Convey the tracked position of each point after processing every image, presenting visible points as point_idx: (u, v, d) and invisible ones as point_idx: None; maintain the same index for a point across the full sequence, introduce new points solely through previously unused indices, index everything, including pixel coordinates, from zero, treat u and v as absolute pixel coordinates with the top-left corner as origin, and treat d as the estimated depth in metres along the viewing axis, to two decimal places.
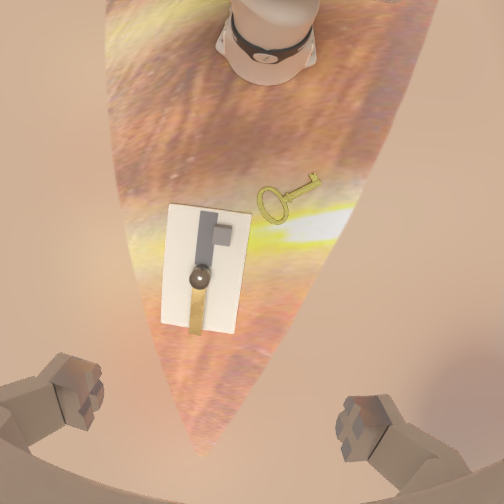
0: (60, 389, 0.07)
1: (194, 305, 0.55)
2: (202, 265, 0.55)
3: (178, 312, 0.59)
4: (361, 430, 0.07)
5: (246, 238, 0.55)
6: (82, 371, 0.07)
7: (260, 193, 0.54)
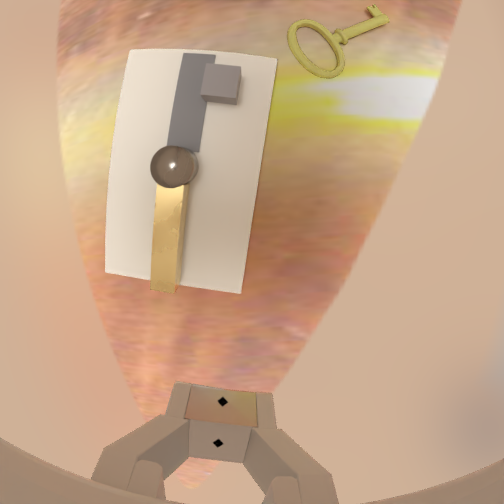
0: (197, 424, 0.07)
1: (160, 226, 0.26)
2: None
3: (135, 250, 0.30)
4: (220, 426, 0.07)
5: (268, 98, 0.26)
6: (214, 399, 0.08)
7: (292, 28, 0.24)
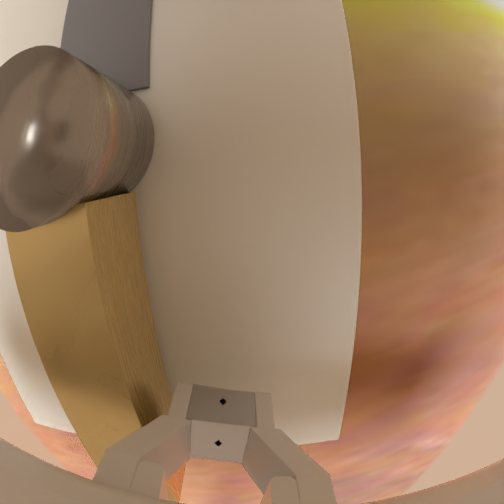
0: (199, 424, 0.07)
1: (62, 370, 0.06)
2: None
3: None
4: (218, 426, 0.07)
5: None
6: (216, 400, 0.08)
7: None
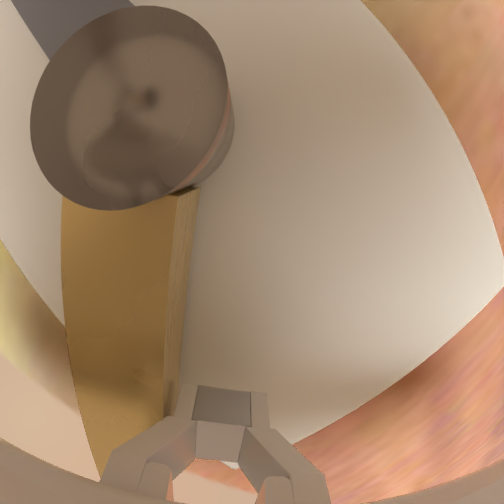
0: (205, 425, 0.07)
1: (91, 357, 0.06)
2: None
3: None
4: (213, 426, 0.07)
5: None
6: (221, 400, 0.08)
7: None
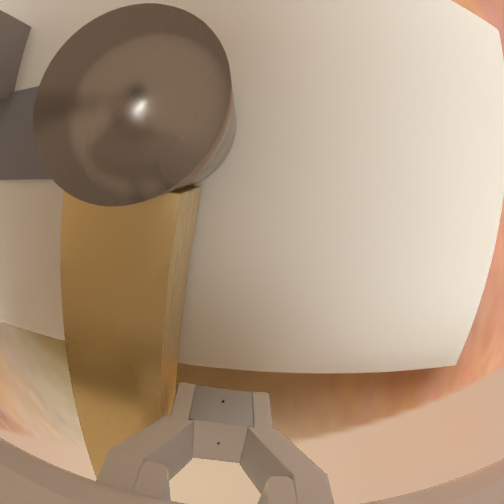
0: (202, 424, 0.07)
1: (89, 354, 0.06)
2: None
3: (432, 286, 0.09)
4: (216, 426, 0.07)
5: None
6: (219, 400, 0.08)
7: None
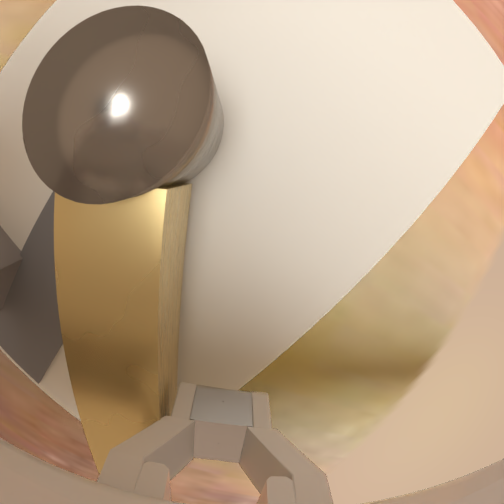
0: (203, 424, 0.07)
1: (86, 354, 0.06)
2: None
3: (437, 43, 0.07)
4: (215, 426, 0.07)
5: None
6: (219, 400, 0.08)
7: None
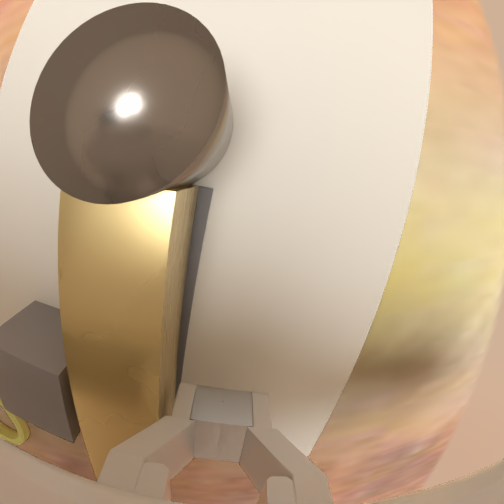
0: (203, 424, 0.07)
1: (87, 354, 0.06)
2: None
3: None
4: (215, 426, 0.07)
5: None
6: (219, 400, 0.08)
7: (20, 432, 0.12)
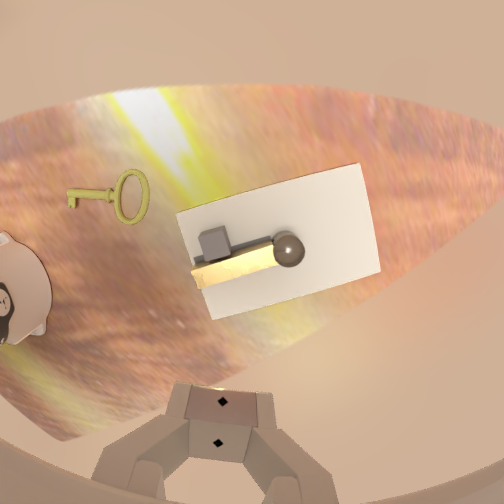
0: (197, 424, 0.07)
1: (242, 260, 0.35)
2: None
3: (357, 253, 0.39)
4: (220, 426, 0.07)
5: (208, 206, 0.37)
6: (214, 399, 0.08)
7: (134, 221, 0.38)
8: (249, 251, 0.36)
